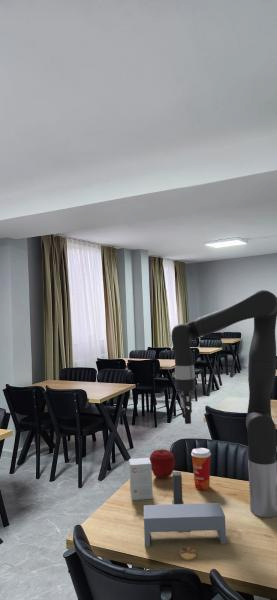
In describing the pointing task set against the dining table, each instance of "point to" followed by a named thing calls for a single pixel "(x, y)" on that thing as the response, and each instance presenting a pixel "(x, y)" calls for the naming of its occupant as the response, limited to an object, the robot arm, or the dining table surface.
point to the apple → (162, 463)
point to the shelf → (184, 519)
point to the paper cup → (201, 468)
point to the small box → (140, 479)
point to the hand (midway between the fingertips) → (186, 420)
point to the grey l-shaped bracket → (177, 488)
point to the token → (187, 553)
